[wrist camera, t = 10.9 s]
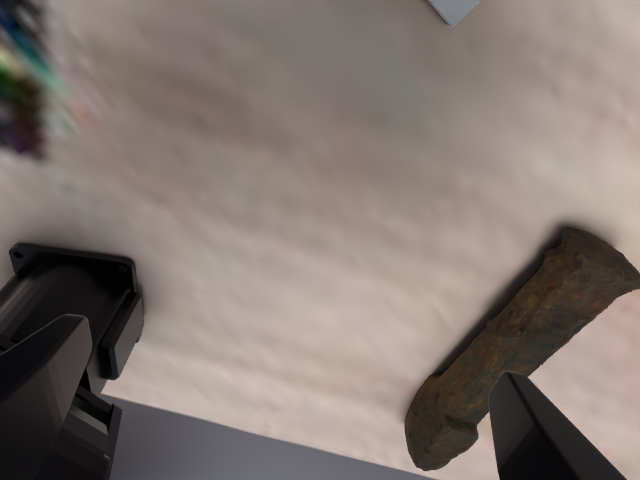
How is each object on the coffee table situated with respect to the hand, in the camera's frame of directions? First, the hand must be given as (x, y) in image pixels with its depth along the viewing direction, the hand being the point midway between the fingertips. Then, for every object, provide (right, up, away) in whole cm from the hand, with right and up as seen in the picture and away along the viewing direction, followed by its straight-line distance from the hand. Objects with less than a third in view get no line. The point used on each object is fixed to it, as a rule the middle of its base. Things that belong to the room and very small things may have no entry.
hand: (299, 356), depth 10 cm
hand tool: (+11, -4, +19) cm, 22 cm away
